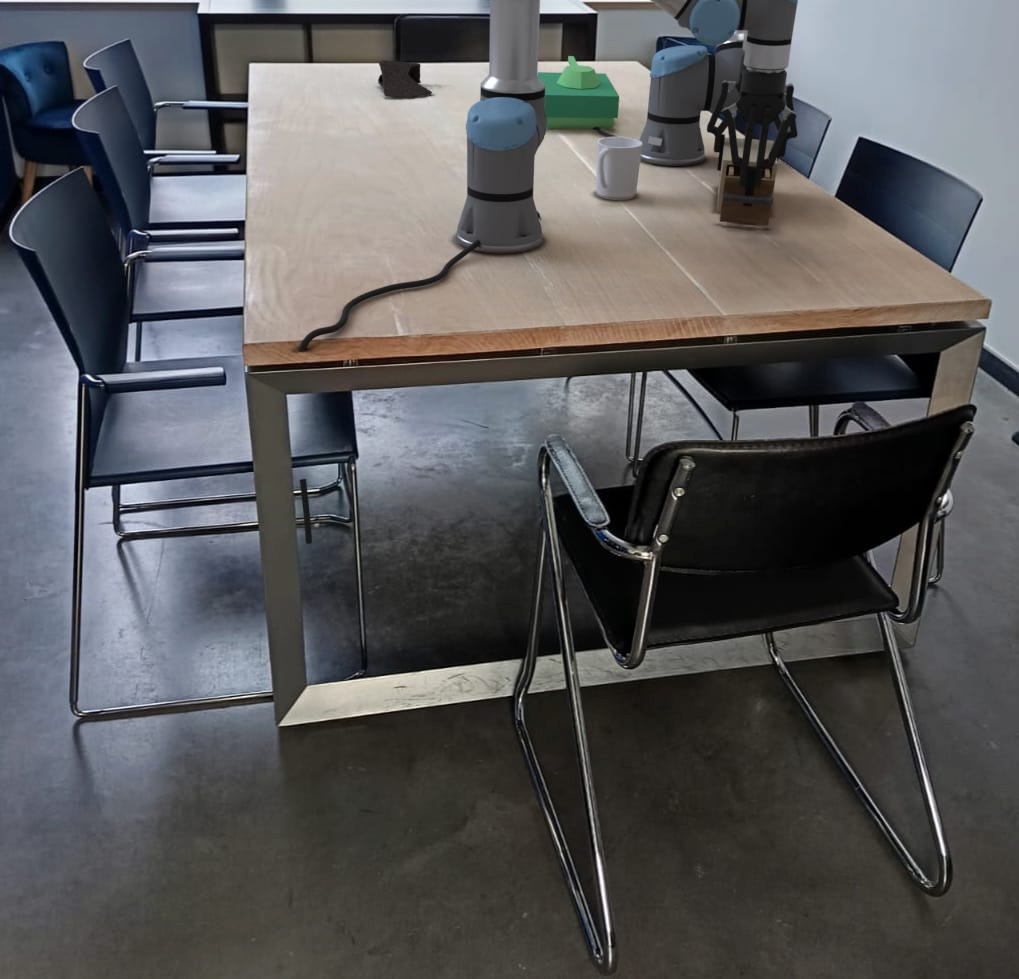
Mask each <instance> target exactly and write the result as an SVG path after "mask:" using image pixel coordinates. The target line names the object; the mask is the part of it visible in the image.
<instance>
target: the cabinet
mask: <svg viewBox="0 0 1019 979" xmlns="http://www.w3.org/2000/svg"><path fill="white" fill-rule="evenodd" d="M744 141H745V138H738V137H737V146H738V155H739V157H741V158H742V156H743V148H744ZM773 143H774V140H769V139H767V144H766V151H765V158H764V159H767V158H768V156H769V153H770V151H771V148H772V145H773ZM758 146H759V139H755V138H752V144H751V152H750V159H749V166H756V162H757V154H758ZM729 165H733V164H732V158H731V149H730V141H729V137H725V141H724V149H723V157H722V165H721V171H719V178H718V186H717V204H716V213H718V214H719V213H720V214H721V206H722V198H723V190H724V182H725V176H727V175H728V167H729ZM777 165H778V166H779V161H778V162H777V158H776V161H775V163H774V165H773V167H769V168H770V179H775V180H777V171H778V166H777ZM775 183H776V182H775ZM775 183H774V186H775V185H776V184H775ZM774 192H775V189H774V190H773V193H774ZM771 212H772V209H771V210H770V213H771Z"/></svg>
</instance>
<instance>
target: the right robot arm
mask: <svg viewBox="0 0 1019 979" xmlns="http://www.w3.org/2000/svg"><path fill="white" fill-rule="evenodd" d="M747 33H748V31H747V30H743V31H742V30H736V31H735V33H734V35H733V36H732V37H731V38H730V39H729V40H727V41H726V42H724V43H722V44H720V45H716V47H715V53H713V54H712V53H709V51H708V48H707V47H706V46H704V45H693V44H691V45H690V44H689V45H678V46H672V47H671V46H670V47H668V48H667V47H666V48H664V49H661V50H658V51H657V52H656V53H655V54H654V56H652V61H651V68H650V69H651V70H650V73H649V78H650V81H649V82H650V83H649V93H648V104H647V113H646V114H647V115H646V122H645V125H644V127H643V130H642V132H641V135H640V137H639V140H640V141H641V142H642V151H641V159H640V161H641V162H645V163H648V164H652V165H657V166H663V167H665V166H666V167H686V166H693V165H698V164H700V163H702V162H704V160H705V152H706V151H705V146H704V139H703V135H702V129H701V113H702V112H712V114H711V116H710V119H709V121H708V123H707V126H706V132H707V133H709V134H713V136H714V143H713V152H714V153H717V154H718V156H717V166H716V171H719V172H720V171H721V165H722V157H723V149H724V141H725V138H726V134H724V132H725V131H726V130H727V129H728V124H727V122H726V120H725V118H724V117H723V119H722V120H721V122H720V123H719V125H718V126H716V124H717V122H718V120H719V116H720V115H721V113H723V109H724V107H729V106H731V105H733V104H735V103H736V99H737V98H738V96H739V94H740V89H741V80H742V72H743V70H744V69H745V68H746V66H745V65H744V56H745V48H746V41H747ZM794 92H795V86H794V84H793V83H789V84H787V83H786V84H785V91H784V98H785V103H786V107H788V108H789V109H790V110H791V111H792V110H793V111H795V108H794V102H793V101H794V100H793V98H794V97H793V96H794ZM736 113H737V114H738V113H740V112H739V110H737V111H736ZM773 123H774V125H775V127H776V130H777V131H778V130H779V128H780V125H781V123H782V118H781V116H780V114H779V115H778V116H777V117H776V119H775V120H774V121H773ZM797 128H798V127H797V123H796V119H795V120H794V122H793V123H792V124H791V125H790V126H789V130H787V133H786V135H785V138H784V140H783V143H782V146H781V148H780V151H779V153H778V156H777V162H778V163H779V158H781V157H782V158H784V157H785V155H786V150H787V143H788V141H789V140H790V139H795V138H797V137H798V129H797ZM592 130H593V131H595V132H596V133H597V134H599V135H602V136H603V137H619V136H618V135H615V134H611V133H609V132H607V131H605V130H604V129H600V128H598V127H595V128H593V129H592ZM778 166H779V164H778V165H777V167H778Z"/></svg>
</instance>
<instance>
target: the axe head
mask: <svg viewBox="0 0 1019 979" xmlns="http://www.w3.org/2000/svg"><path fill="white" fill-rule="evenodd" d="M378 66H379V68H380V72H381V74H379V75H378V79H377V84H378V85H379V86H380V87H381V88H382V89H383V95H384V96H385V97H388V98H394V99H395V98H396V99H403V98H405V99H406V98H407V99H411V98H418V97H425V96H429V95H432V94H433V91H431V90H430V89H428V88H427V87H425V86H422V85H421V84H422V82H421V63H419V62H410V61H408V62H407V61H397V60H388V59H387V60H380V61H379V62H378Z"/></svg>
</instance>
